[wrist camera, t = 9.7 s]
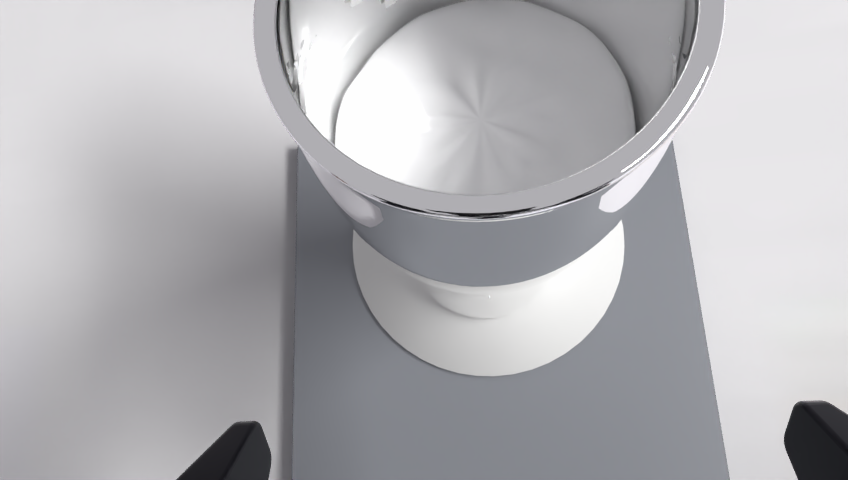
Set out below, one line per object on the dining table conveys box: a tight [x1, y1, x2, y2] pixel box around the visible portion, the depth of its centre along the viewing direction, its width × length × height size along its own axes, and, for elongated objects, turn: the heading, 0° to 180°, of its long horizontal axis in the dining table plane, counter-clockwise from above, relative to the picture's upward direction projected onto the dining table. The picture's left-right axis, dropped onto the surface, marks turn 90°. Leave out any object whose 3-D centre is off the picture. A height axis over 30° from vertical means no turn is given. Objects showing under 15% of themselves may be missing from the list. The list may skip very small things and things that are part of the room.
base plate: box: [292, 141, 730, 480], centre depth 21 cm, size 24×16×1 cm, turn 2°
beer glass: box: [253, 0, 726, 318], centre depth 15 cm, size 7×7×15 cm
